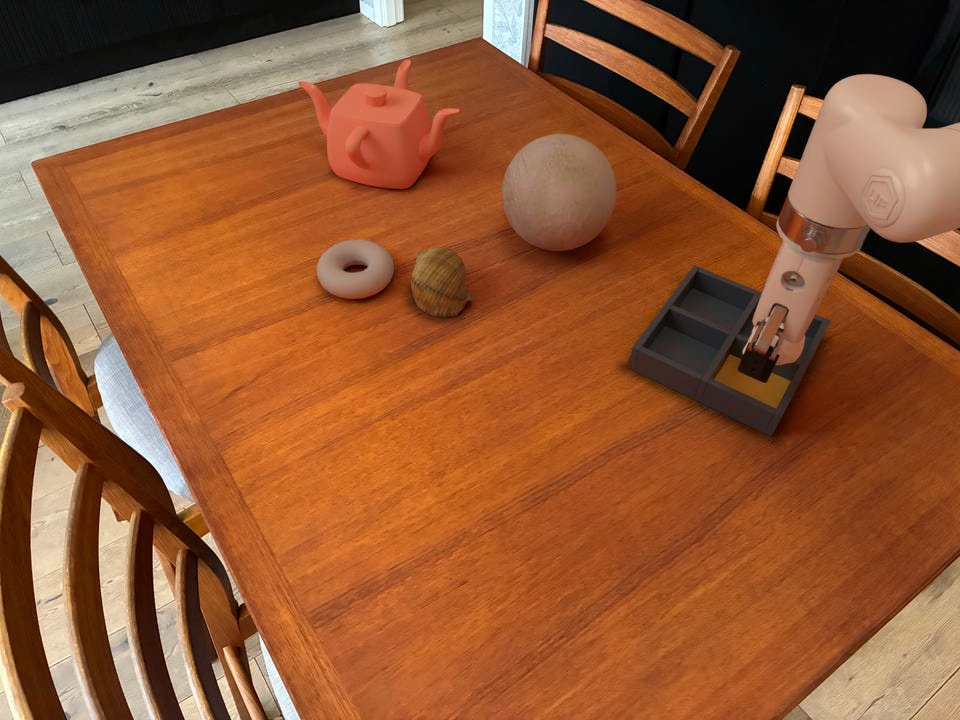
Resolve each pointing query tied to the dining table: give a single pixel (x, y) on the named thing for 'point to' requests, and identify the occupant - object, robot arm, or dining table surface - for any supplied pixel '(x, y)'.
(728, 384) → the grid
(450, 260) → the seashell
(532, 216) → the decorative sphere
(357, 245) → the donut
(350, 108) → the pot
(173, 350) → the dining table surface
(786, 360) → the garlic bulb
